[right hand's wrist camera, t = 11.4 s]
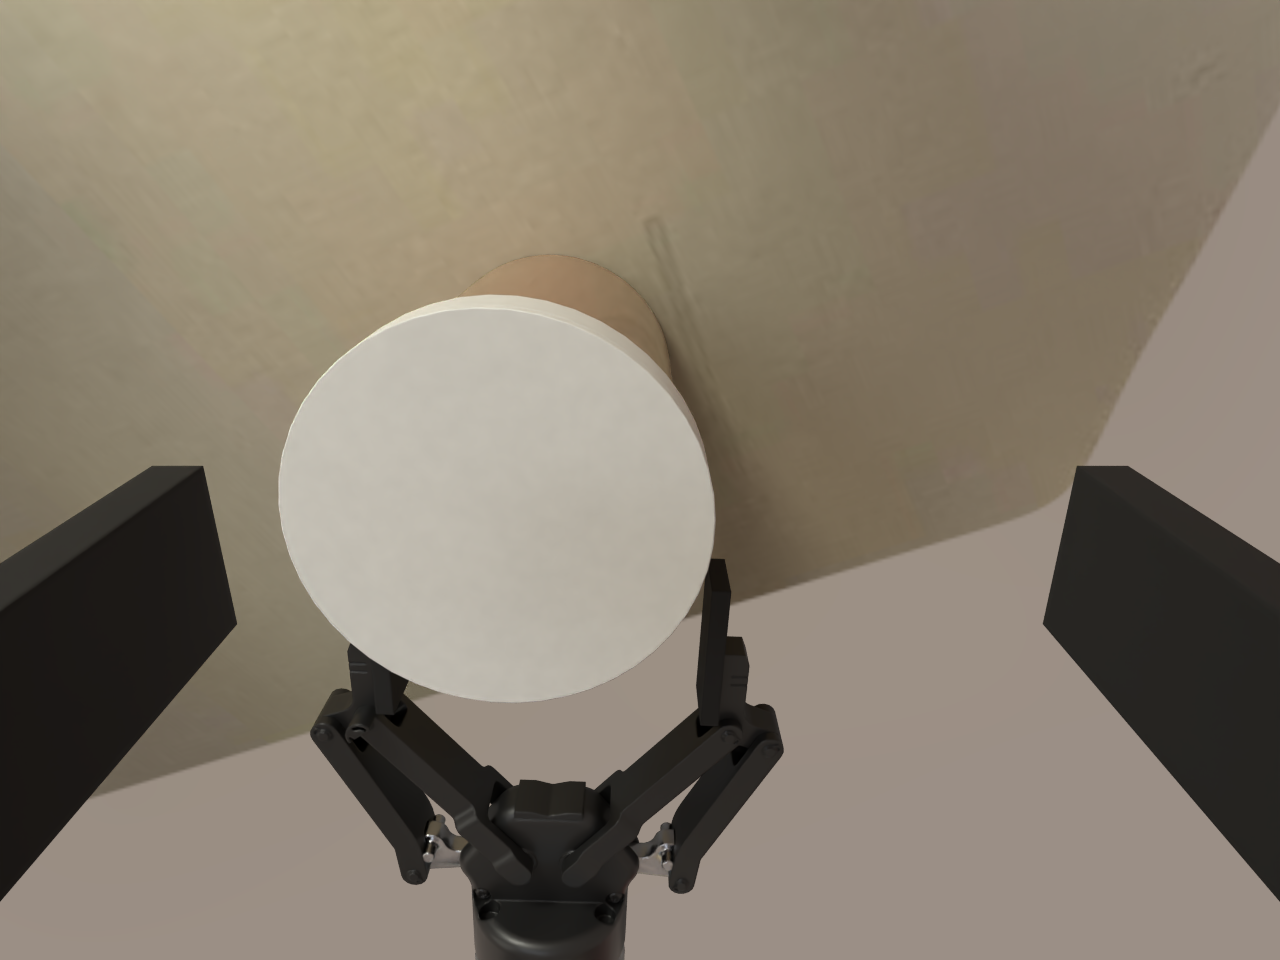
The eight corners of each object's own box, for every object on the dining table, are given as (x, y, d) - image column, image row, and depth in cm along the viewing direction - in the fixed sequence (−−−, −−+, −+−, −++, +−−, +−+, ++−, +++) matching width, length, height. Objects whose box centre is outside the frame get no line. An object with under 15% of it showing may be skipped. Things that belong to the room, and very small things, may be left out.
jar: (439, 242, 34) (300, 311, 20) (683, 268, 34) (713, 354, 20) (437, 469, 38) (319, 659, 24) (656, 490, 38) (665, 689, 24)
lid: (292, 271, 21) (261, 282, 19) (738, 318, 21) (747, 333, 20) (314, 649, 25) (291, 685, 24) (683, 681, 26) (686, 719, 24)
